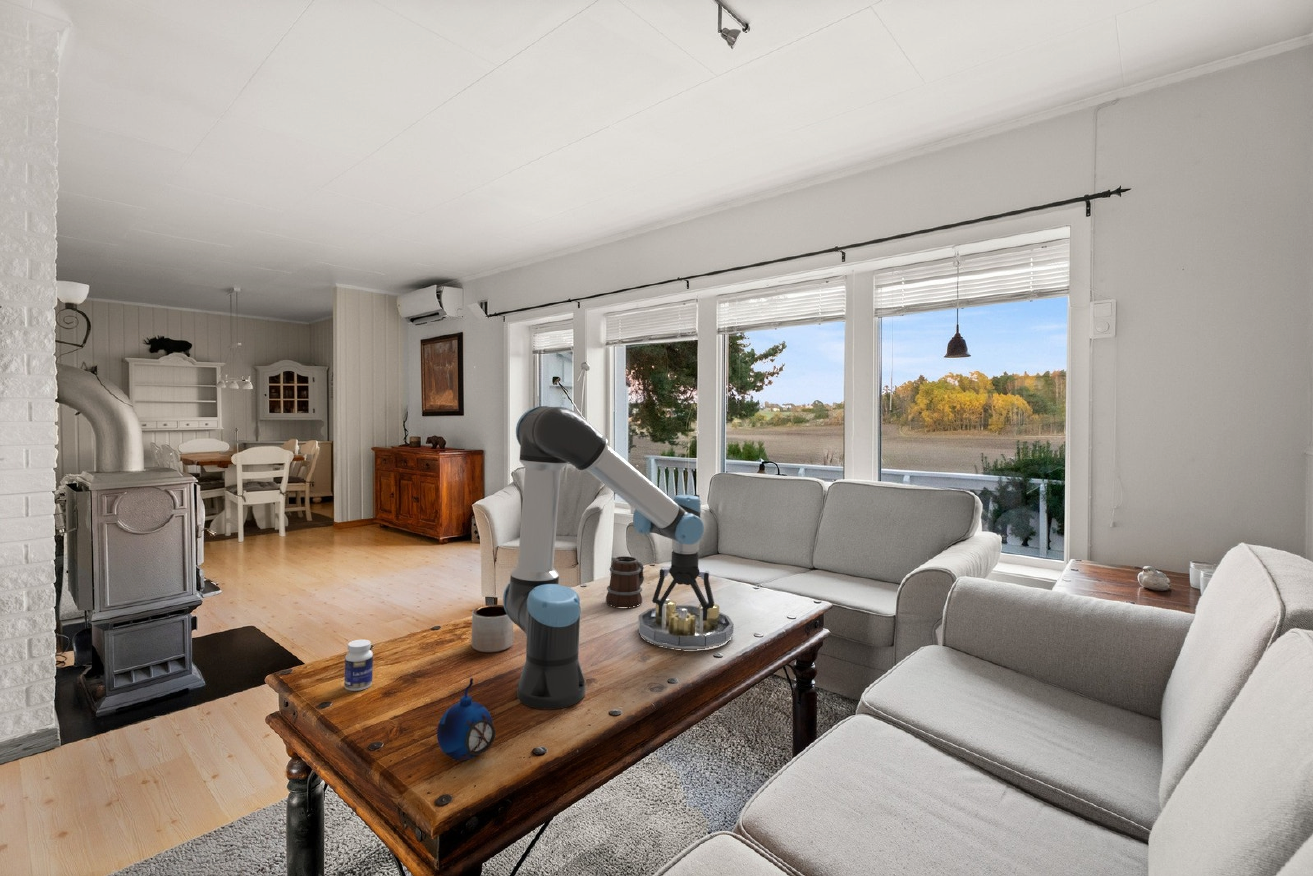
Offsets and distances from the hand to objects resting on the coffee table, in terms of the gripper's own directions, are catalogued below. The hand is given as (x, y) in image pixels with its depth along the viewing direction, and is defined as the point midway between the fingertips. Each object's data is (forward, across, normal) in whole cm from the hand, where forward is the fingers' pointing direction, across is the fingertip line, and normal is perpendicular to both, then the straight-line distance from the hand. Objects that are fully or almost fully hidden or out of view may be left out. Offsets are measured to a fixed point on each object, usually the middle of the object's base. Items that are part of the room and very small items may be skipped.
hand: (682, 629), depth 173 cm
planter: (+4, +49, +15) cm, 52 cm away
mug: (+4, +22, -32) cm, 40 cm away
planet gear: (+2, 0, 0) cm, 2 cm away
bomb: (+4, +31, +66) cm, 73 cm away
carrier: (+4, 0, -8) cm, 8 cm away
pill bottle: (+4, +68, +45) cm, 82 cm away
